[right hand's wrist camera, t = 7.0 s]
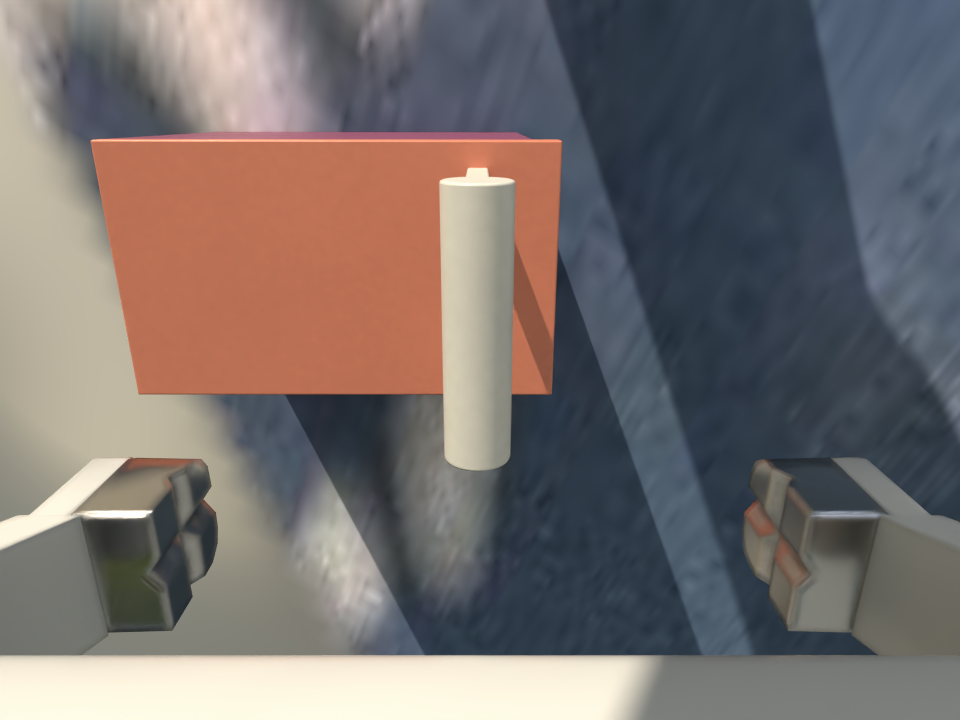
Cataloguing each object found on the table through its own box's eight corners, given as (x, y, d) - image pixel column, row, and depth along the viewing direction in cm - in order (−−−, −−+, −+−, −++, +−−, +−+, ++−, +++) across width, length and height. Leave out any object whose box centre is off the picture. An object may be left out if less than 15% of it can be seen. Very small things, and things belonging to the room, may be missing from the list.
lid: (559, 139, 23) (599, 151, 16) (549, 385, 26) (578, 495, 19) (105, 138, 23) (-80, 150, 16) (150, 384, 26) (15, 495, 19)
